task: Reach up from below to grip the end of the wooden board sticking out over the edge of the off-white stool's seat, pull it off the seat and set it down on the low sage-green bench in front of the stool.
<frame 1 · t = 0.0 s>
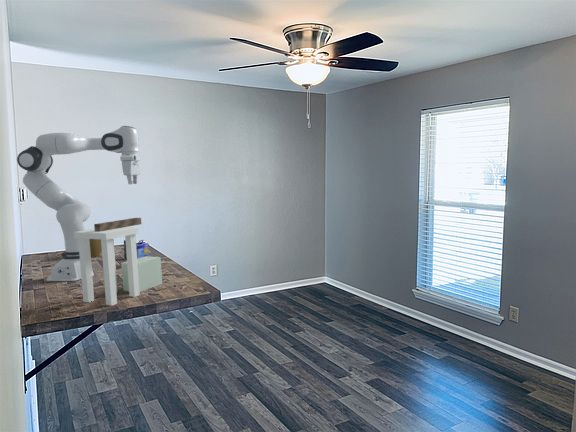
hand: (132, 184, 230), 48 cm above the table, tool pointing down, fingers open, 8 cm apart
ink cartridge box: (140, 264, 260), on the table
wooden board: (119, 227, 193), point 30 cm above the table, touching stool
low bench: (143, 287, 207), on the table
plant pot: (94, 256, 291), on the table
stool: (112, 298, 190), on the table
phone stand: (130, 259, 278), on the table
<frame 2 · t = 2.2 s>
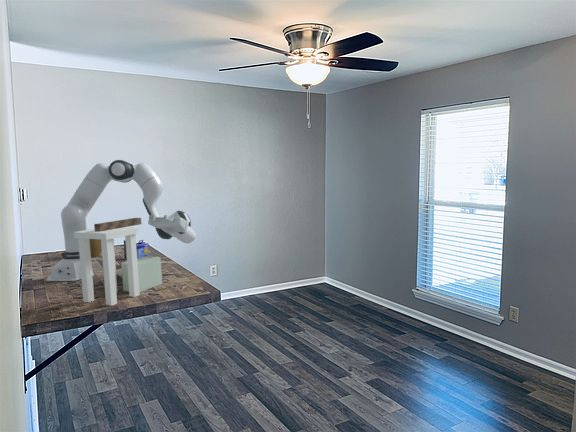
hand: (157, 216, 215), 32 cm above the table, tool pointing upward, fingers open, 8 cm apart
nothing on the table moved.
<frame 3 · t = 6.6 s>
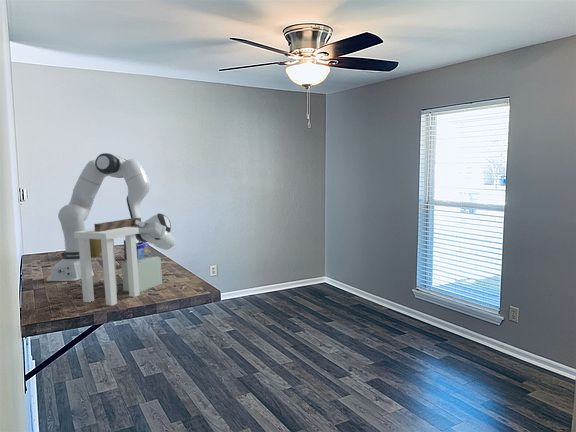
hand: (131, 221, 199), 32 cm above the table, tool pointing upward, fingers closed on wooden board, 3 cm apart
wooden board: (119, 227, 193), point 30 cm above the table, touching gripper, stool
everything else where it was.
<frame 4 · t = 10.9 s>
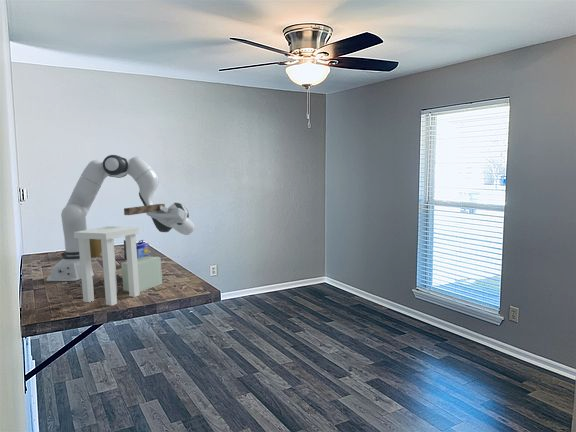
hand: (155, 206, 214), 37 cm above the table, tool pointing upward, fingers closed on wooden board, 3 cm apart
wooden board: (145, 212, 208), point 35 cm above the table, touching gripper
everything else where it was.
when the fingers open (18 cm above the table, at t = 15.2 s): wooden board drops 4 cm, resting on low bench.
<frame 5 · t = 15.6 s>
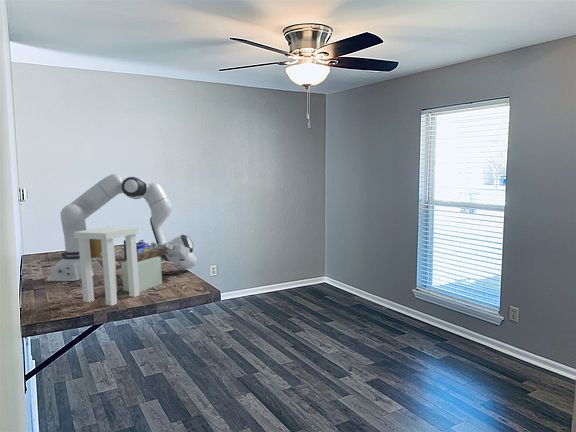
hand: (158, 244, 216), 18 cm above the table, tool pointing upward, fingers open, 7 cm apart
wooden board: (149, 257, 210), point 13 cm above the table, touching low bench
everything else where it was.
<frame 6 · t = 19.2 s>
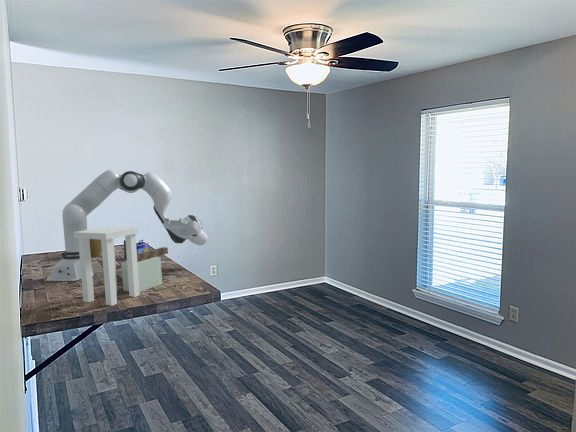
hand: (172, 219, 226), 29 cm above the table, tool pointing upward, fingers open, 8 cm apart
nothing on the table moved.
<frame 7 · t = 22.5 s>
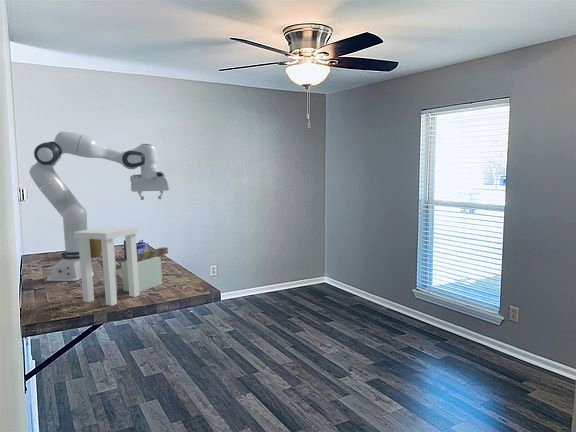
hand: (151, 199, 240), 39 cm above the table, tool pointing down, fingers open, 8 cm apart
nothing on the table moved.
at the end: wooden board touching low bench; the gripper is holding nothing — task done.
